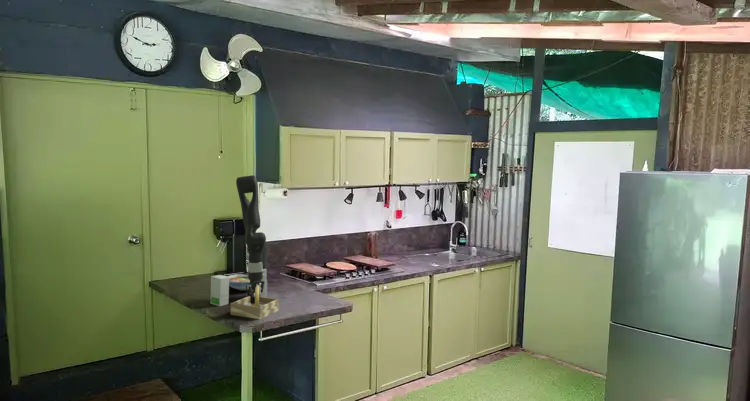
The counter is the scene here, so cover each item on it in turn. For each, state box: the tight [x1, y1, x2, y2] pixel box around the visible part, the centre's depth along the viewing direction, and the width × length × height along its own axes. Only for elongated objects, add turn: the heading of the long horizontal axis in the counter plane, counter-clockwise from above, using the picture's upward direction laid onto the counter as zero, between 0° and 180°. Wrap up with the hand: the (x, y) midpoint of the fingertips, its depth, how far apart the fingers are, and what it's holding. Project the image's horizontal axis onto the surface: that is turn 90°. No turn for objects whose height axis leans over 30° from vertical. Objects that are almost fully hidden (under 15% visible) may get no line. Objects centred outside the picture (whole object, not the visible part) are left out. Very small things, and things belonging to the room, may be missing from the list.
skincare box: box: [210, 274, 230, 307], centre depth 289 cm, size 8×7×16 cm
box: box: [230, 295, 281, 320], centre depth 275 cm, size 18×18×6 cm
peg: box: [251, 285, 259, 307], centre depth 274 cm, size 4×4×12 cm
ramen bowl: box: [227, 272, 269, 292], centre depth 323 cm, size 25×23×8 cm
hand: (255, 302), depth 274 cm, fingers closed on peg, 4 cm apart
